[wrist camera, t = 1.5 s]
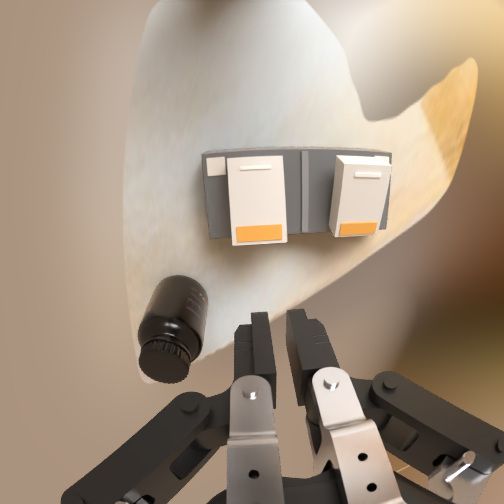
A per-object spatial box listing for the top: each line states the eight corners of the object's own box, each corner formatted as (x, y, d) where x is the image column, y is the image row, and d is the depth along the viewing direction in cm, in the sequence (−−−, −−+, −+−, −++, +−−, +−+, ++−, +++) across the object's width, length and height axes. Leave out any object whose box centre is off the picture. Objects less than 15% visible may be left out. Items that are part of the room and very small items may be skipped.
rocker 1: (228, 161, 23) (226, 157, 21) (279, 159, 23) (282, 155, 21) (233, 242, 24) (232, 246, 22) (283, 239, 24) (287, 242, 22)
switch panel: (206, 151, 26) (201, 154, 23) (374, 149, 27) (393, 153, 23) (213, 225, 30) (209, 240, 26) (370, 217, 30) (387, 230, 26)
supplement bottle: (172, 324, 35) (153, 394, 24) (145, 284, 33) (112, 350, 22) (218, 309, 34) (211, 383, 23) (193, 265, 32) (172, 333, 21)
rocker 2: (336, 155, 21) (345, 164, 20) (381, 157, 21) (392, 166, 20) (328, 225, 26) (335, 238, 24) (369, 223, 26) (377, 235, 24)
